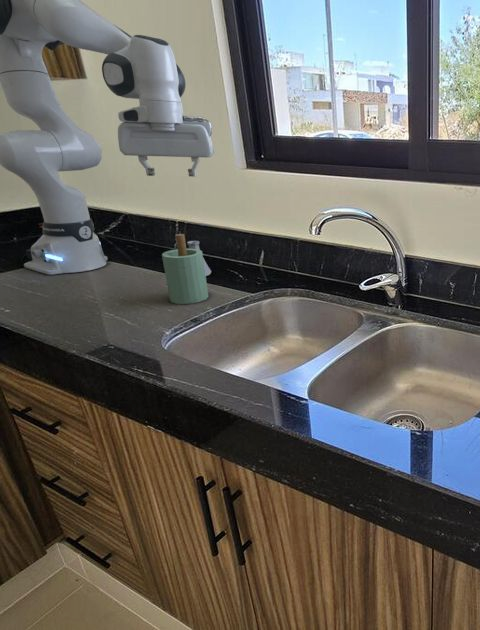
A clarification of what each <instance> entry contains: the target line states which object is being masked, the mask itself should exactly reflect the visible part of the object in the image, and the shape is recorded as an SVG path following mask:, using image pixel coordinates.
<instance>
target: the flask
mask: <svg viewBox="0 0 480 630" xmlns="http://www.w3.org/2000/svg"><path fill="white" fill-rule="evenodd" d="M186 245H187V246H188V249H198V250H201V249H200V241H199V240H189V241H187V242H186ZM203 261H204V268H205V275H206V277H207V276H210V275H211V273H212V270H211V268H210V267H209V266H208V265H209V264H207V261H206V260H205V258H204V257H203Z"/></svg>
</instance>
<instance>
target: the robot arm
mask: <svg viewBox="0 0 480 630" xmlns="http://www.w3.org/2000/svg"><path fill="white" fill-rule="evenodd" d="M62 45H67V46H69V47H72V48H76V49H80V50H86V51H90V52H94V53H99V54H103V55H106V56H105V58H104V59H103V61H102V64H101V73H102V78H103V81H104V83H105V85H106V86H107V88H108V89H109V90H110V91H111V92H112V93H113V95H115V96H117V97H121V98H125V99H131V100H132V99H133V100H138V103H139V106H135V107H131V108H128V109H125V110H121V111H119V112H118V113H117V115H118V120H119V121H120V122H121V123H119V125H118V127H117V140H118V148H119V151H120V153H122V154H123V156H136V157H137V158H138V161H139V163H140V164H141V165H142V166H143V168H144V169H145V173H146V174H145V175H146V176H147V177H154V176H156V172H155V167H151V166H150V164H149V163H148V162H147V161H148V160H149V158H148V157H168V158H169V157H171V158H172V157H173V158H175V157H176V158H177V157H178V158H190V159H191V160H190V161H191V162H192V163H193V164H192V167H190V168H187V173H188V177H197V168H198V167H199V163H200V158H211V157H212V156H213V155H214V153H215V151H214V145H213V140H212V138H211V136H212V134H213V130H212V124H211V122H210V121H209V120H208V119H206V118H204V116H192V115H184V109H183V103H182V102H183V101H182V97H183V95H184V93H185V90H186V86H187V85H186V78H185V75H184V73H183V71H182V69H181V68H180V66H179V65H178V64H177V62H176V58H175V54H174V50H173V49H172V46H171V45H170V43H169V42H167V41H166V40H165V39H162V38H157V37H152V36H148V35H143V34H134V35H130V34H129V33H128V32H126V31H124V30H123V29H121V28H120V27H119V26H117V25H115V24H114V23H112V22H111V21H110V20H108V19H107V18H106V17H103V16H102V15H101V14H99V13H98V12H97V11H96V10H94V9H92V8H91V7H90V6H88V4H86V3H85V2H83V1H82V0H0V86H1V88H2V91H3V93H4V96H5V99H6V102H7V104H8V106H9V107H10V109H11V110H12V111H14V112H15V113H17V114H18V115H20V116H22V117H25V118H27V119H29V120H31V121H32V122H33V123H34V124H36V126H37V127H38V128H39V130H38V129H37V130H36V129H35V130H33V129H27V130H25V129H22V130H21V129H18V130H11V131H5V132H0V166H1V167H2V168H4V169H5V170H6V171H8V172H10V173H12V174H14V175H16V176H17V177H19V178H20V179H21V180H22V181H24V182H25V183H26V184H27V185H28V187H29V188H30V189H31V190H32V191H33V193H34V195H35V197H36V199H37V202H38V205H39V208H40V211H41V214H42V219H43V222H41V223H38V225H39V228H42V235H41V236H40V237H39V238H38V239H37V240H36V242H34V243H33V244H32V245H31V247H30V248H29V249H26V250H25V253H24V254H23V255H22V257H21V262H25V260H26V258H27V259H28V260H29V261H27V262H25V263H23V267H24V268H26V269H28V270H33V271H35V272H38V273H41V274H45V275H49V276H50V275H58V274H59V275H60V274H71V273H82V272H88V271H92V270H97V269H100V268H103V267H104V266H106V265H107V264H108V263H107V261H108V260H109V258H108V256H106V255H105V254H104V251H103V248H102V244H101V241H100V239H99V237H98V235H97V234H96V233H95V227H94V226H95V225H94V221H93V219H92V218H91V217H90V212H89V208H88V203H87V200H86V196H85V194H84V193H83V191H82V190H80V189H79V188H77V187H75V186H73V185H71V184H69V183H65V182H64V181H63V180H62V179H61V177H60V174H59V172H71V171H72V172H73V171H74V172H75V171H84V170H88V169H91V168H95V167H97V166H99V164H100V163H101V161H102V157H103V153H102V151H103V150H102V148H101V145H100V143H99V142H98V141H97V140H96V137H94V136H93V135H91V134H90V133H88V132H86V131H85V130H83V129H82V128H81V127H79V125H77V124H76V123H75V122H74V121H73V120H72V119H71V118H70V117H69V116H68V114H67V113H66V111H65V110H64V108H63V106H62V105H61V103H60V101H59V99H58V96H57V94H56V91H55V89H54V86H53V83H52V80H51V77H50V75H49V72H48V68H47V67H46V64H45V61H44V57H43V49H44V47H45V48H47V49H48V50H50V51H55V50H56V49H57V48H58V47H59V46H62Z"/></svg>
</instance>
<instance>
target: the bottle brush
mask: <svg viewBox="0 0 480 630" xmlns="http://www.w3.org/2000/svg"><path fill="white" fill-rule="evenodd" d="M174 236H175V243H176V249H177V250H178V256H187V250H186V249H187V242H186V237H185V234H184V233H177V234H175V235H174Z"/></svg>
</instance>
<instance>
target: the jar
mask: <svg viewBox="0 0 480 630" xmlns="http://www.w3.org/2000/svg"><path fill="white" fill-rule="evenodd" d="M186 250H187V256H178V250H177V248H176V249H171V250H167V251H164V252H163V253H161V258H162V263H163V264H162V265H163V269H164V274H165V280H166V286H167V292H168V297H169V300H170V302H171V303H172V304H177V305H191V304H196V303H197V304H198V303H200V302H204V301H205V300H207V299H208V298H209V290H208V283H207V276H206V275H205V268H204V261H203V258H204V254H203V250H201V249H200V250H198V249H189V248H186Z"/></svg>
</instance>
